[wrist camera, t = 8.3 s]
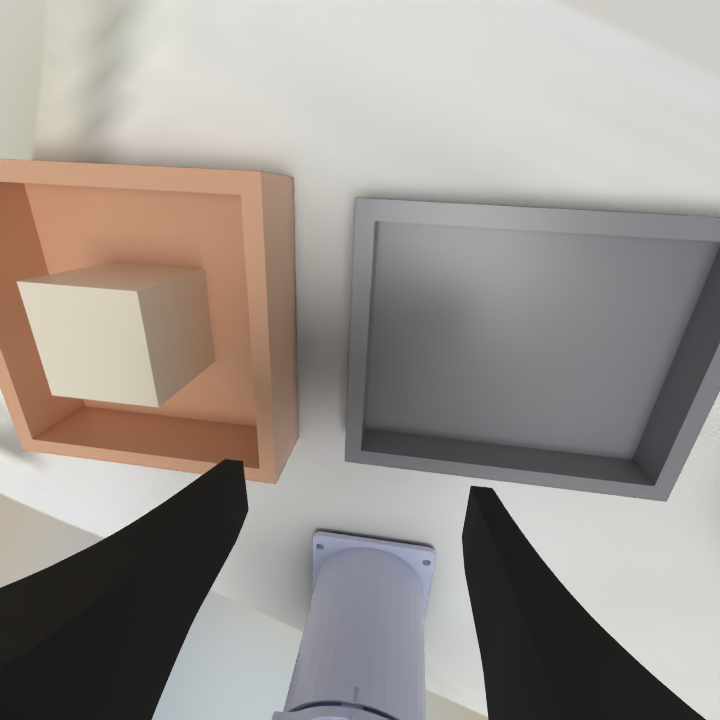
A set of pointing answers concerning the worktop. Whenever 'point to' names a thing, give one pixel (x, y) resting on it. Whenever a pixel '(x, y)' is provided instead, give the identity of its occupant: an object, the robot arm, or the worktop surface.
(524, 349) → the tray
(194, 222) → the bin
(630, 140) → the worktop surface
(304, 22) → the worktop surface
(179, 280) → the stone block
